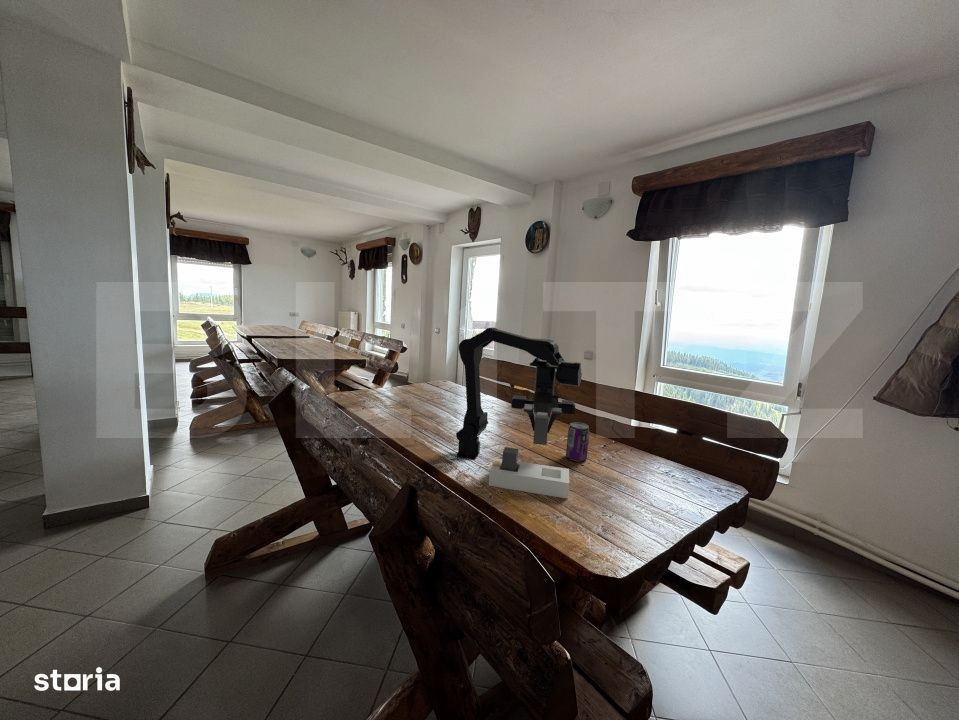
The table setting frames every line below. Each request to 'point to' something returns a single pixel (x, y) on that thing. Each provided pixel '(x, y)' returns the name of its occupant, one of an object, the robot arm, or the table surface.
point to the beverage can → (577, 441)
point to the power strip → (528, 476)
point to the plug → (541, 428)
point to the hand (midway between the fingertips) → (541, 431)
